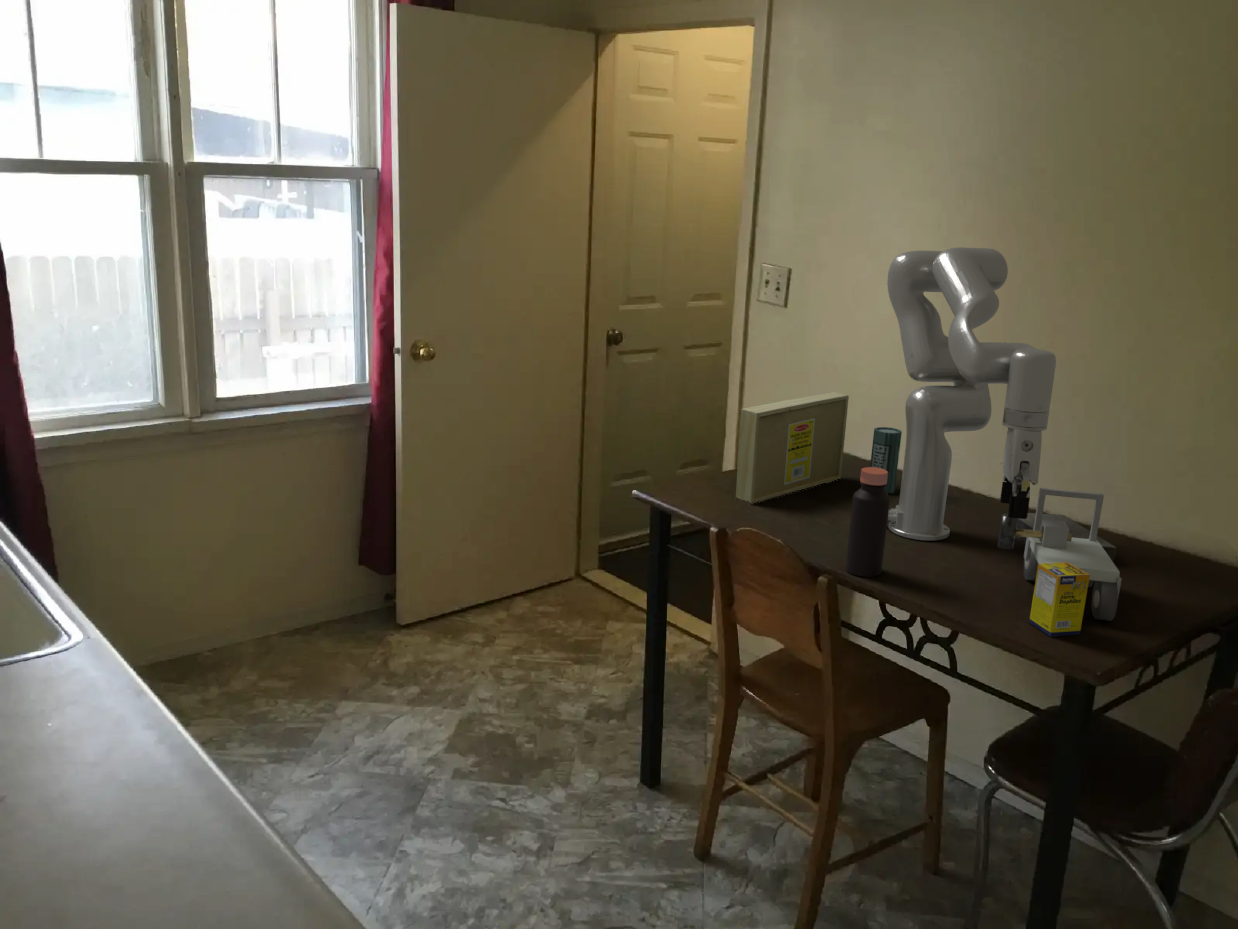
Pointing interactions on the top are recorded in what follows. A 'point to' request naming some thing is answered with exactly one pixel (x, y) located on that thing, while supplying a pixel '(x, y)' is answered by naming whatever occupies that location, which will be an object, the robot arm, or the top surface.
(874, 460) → the can
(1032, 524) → the stone block
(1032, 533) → the hammer
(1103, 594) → the trolley
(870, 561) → the bottle
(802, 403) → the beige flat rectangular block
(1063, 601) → the supplement box
